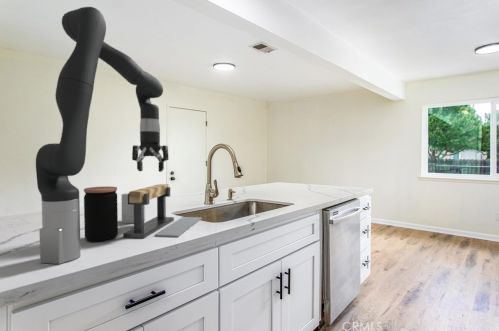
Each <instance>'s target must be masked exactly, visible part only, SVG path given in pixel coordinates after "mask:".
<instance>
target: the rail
mask: <svg viewBox="0 0 499 331" xmlns="http://www.w3.org/2000/svg"><path fill="white" fill-rule="evenodd" d="M166 187H169V183H159V184H155V185H150V186H145V187H143V188H138V189H135V190H130V191H129V192H128V193H129V203H141V202H144V194H145V193H149V201H150V200H152V199H157V197H159V196H162V195H164V194H166Z"/></svg>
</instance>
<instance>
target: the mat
mask: <svg viewBox="0 0 499 331" xmlns="http://www.w3.org/2000/svg"><path fill="white" fill-rule="evenodd" d="M201 220H202V217H199V216H198V217H197V216H195V217H194V216H182V217H181V218H179V219H177V220H176V221H173V223H172V222H171V223H170V224H168V226H165V227H164V228H163V229H161V230H159V231H158V232H157V233H156V232H155V234H154V237H165V238H179V237H181V236H182V235H183V234H184V233H186V232H187V231H188V230H189V229H191V228H192V227H193V226H194V225H196V224H197V223H198V222H200V221H201ZM190 227H191V228H190ZM186 230H187V231H186Z"/></svg>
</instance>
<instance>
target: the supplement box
mask: <svg viewBox="0 0 499 331" xmlns="http://www.w3.org/2000/svg"><path fill="white" fill-rule="evenodd" d="M128 193H129V192H127V193H121V223H123V224H125V223H126V224H134V205H131V204H128ZM144 221H146V205H144Z"/></svg>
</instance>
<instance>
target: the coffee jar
mask: <svg viewBox="0 0 499 331" xmlns="http://www.w3.org/2000/svg"><path fill="white" fill-rule="evenodd" d="M117 191H118V187H117V186H93V187H92V186H91V187H85V188H83V192H84V196H83V215H84V216H83V217H84V222H83V224H84V238H85V240H86V241H87V242H90V243H103V242H108V241H111V240H114V239H117V236H118V235H119V224H118V223H119V222H118V221H119V220H118V219H119V218H118V216H119V215H118V214H119V213H118V193H117Z"/></svg>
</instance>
